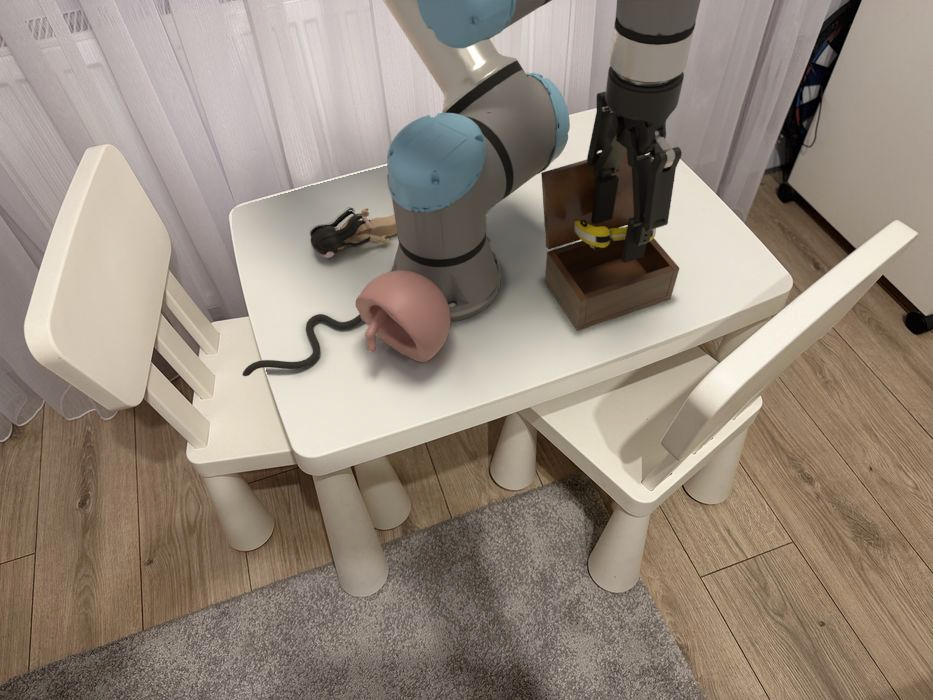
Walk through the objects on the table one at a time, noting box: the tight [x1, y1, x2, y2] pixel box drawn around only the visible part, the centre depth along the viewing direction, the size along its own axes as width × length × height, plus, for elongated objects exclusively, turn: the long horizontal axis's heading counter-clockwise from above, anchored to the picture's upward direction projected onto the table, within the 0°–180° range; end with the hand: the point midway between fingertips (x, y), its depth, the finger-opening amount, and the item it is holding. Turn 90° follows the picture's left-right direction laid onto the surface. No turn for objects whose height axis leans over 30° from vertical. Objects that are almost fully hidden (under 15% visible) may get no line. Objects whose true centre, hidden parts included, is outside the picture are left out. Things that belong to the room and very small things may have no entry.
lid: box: [541, 151, 646, 251], centre depth 88 cm, size 11×14×1 cm
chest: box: [544, 225, 680, 332], centre depth 91 cm, size 10×14×6 cm
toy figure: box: [309, 206, 398, 259], centre depth 100 cm, size 7×6×15 cm
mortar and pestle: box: [354, 270, 451, 363], centre depth 84 cm, size 12×12×12 cm
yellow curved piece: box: [575, 220, 657, 250], centre depth 85 cm, size 10×6×4 cm, turn 97°
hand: (616, 238), depth 86 cm, fingers closed on yellow curved piece, 7 cm apart
